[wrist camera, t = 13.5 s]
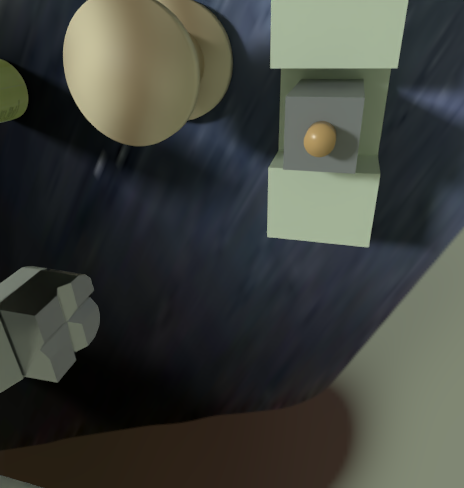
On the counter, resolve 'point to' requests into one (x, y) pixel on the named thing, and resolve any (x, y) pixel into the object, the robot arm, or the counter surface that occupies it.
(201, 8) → the bobbin
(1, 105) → the tube
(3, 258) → the counter surface
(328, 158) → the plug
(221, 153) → the counter surface
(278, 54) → the notch board
